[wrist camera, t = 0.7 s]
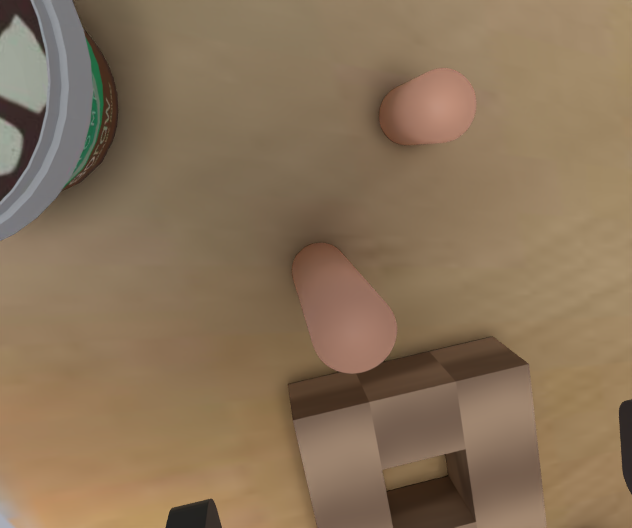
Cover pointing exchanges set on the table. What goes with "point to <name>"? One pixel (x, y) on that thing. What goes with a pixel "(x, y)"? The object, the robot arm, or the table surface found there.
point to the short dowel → (429, 108)
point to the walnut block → (423, 441)
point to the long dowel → (342, 310)
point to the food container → (49, 107)
